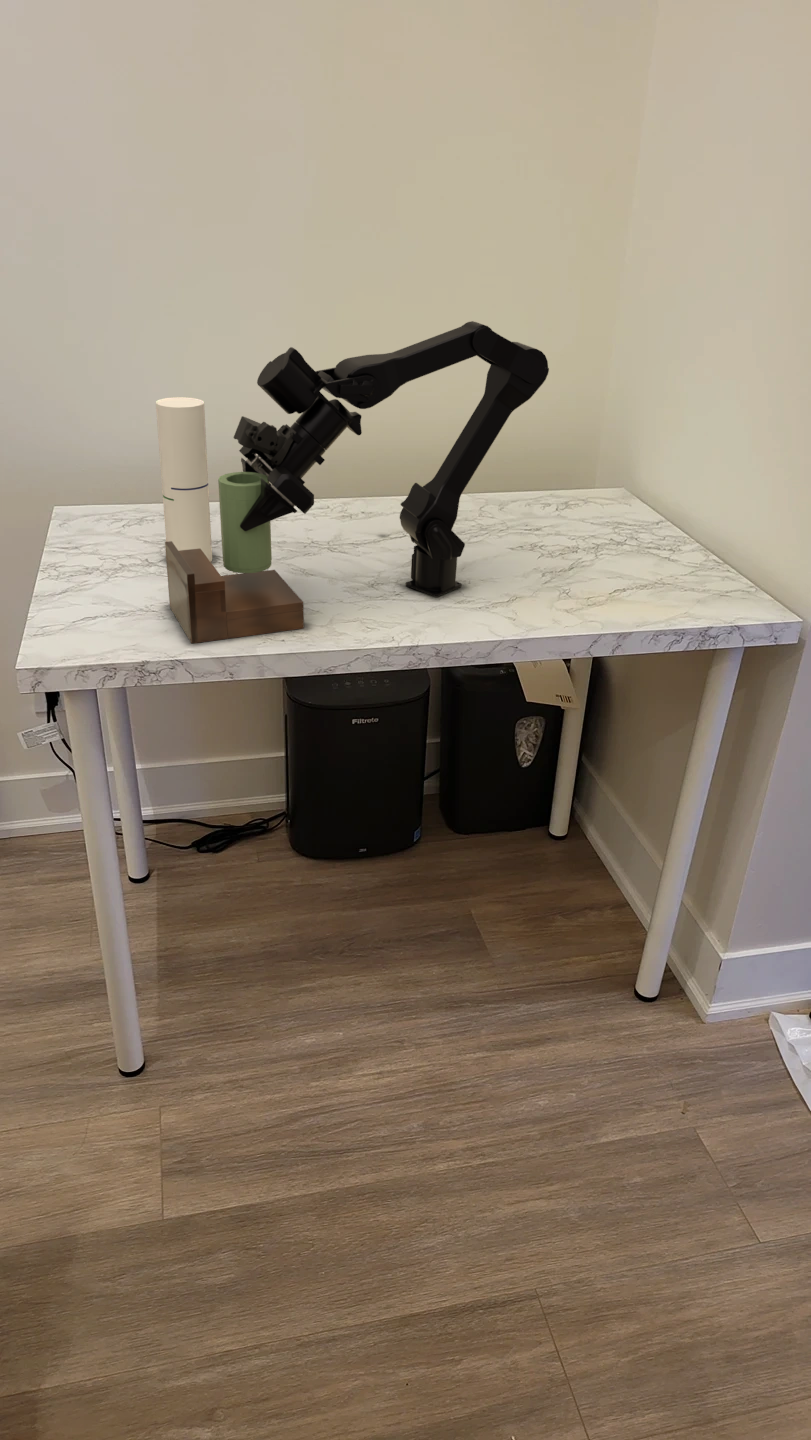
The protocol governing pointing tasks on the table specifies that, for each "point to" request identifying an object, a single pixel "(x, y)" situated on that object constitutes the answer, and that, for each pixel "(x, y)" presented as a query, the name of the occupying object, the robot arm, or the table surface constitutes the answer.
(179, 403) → the cylindrical container
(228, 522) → the jar
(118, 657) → the table surface
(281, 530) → the table surface
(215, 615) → the wooden l-shaped bookend
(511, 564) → the table surface
